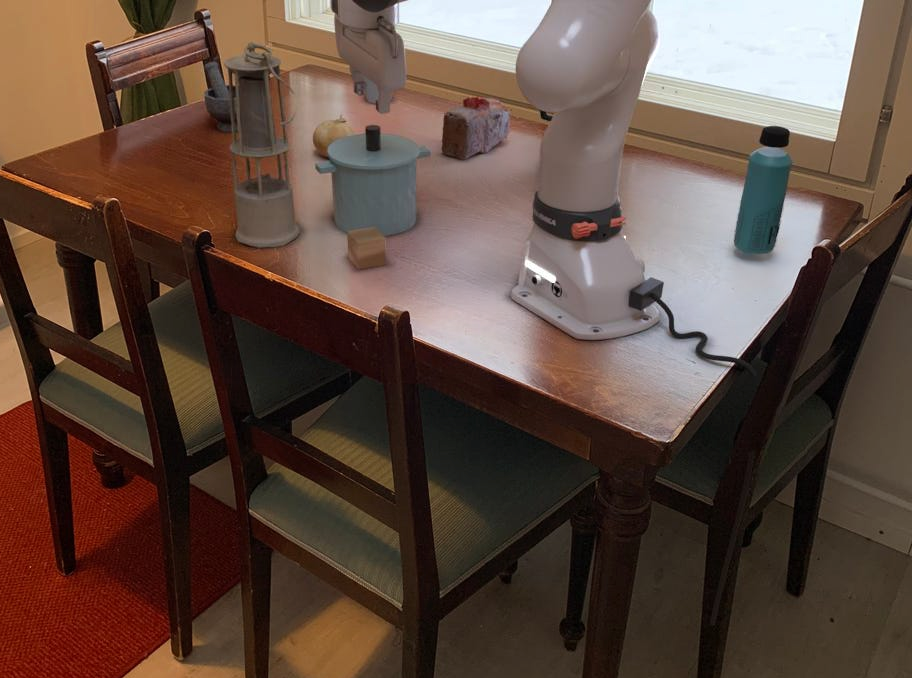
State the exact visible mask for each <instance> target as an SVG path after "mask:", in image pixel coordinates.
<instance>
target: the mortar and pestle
mask: <svg viewBox="0 0 912 678" xmlns="http://www.w3.org/2000/svg"><path fill="white" fill-rule="evenodd" d="M218 66H219V64H218V62H217V61H209V62H207V63H206V64H205V65H203V68H204V70H205V71H206V72H207V75H208V78H209V81H210V84H211V88H208V89H205V90H204V95H203V96H204V97H203V98H204V104H205V106H206V110H207V112H208V114H209V115H210V116H211V118H213V119H214V120H216V128H217V130H220V131H222V132H232V123H231V111H230V91H229V84H226V82H225V80H224V79H223V76H222V73H221V72H220V70H219V67H218ZM233 97H234V114H235V128H236V132H238V125H237V107H236V87H235V84H233ZM239 104H240V97H239ZM240 119H241V109H240ZM241 131H242V124H241Z"/></svg>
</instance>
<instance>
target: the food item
mask: <svg viewBox="0 0 912 678" xmlns="http://www.w3.org/2000/svg"><path fill="white" fill-rule="evenodd" d="M462 102H463V103H462V106H459V107H458V108H454V109H452V110H448V111H446V112H444V113H443V122H442V123H443V125H442V134H441V148H440V149H441V153H442V154H444V155H446V156H450V157H452V158H453V157H454V158H458V159H459V160H461V161H464V160H466V159H468V158H470V157H472V156H474V155H476V154H478V153H481V154H486V153H489V151H491V150H492V148H494V147H496V146H497V145H498V144H502V143H503V141H504V140H505V139H507V138H508V137H509V134H510V127H511V125H510V124H511V122H510V117H511V113H510V111H509V110H508V109H507V108H506V106H505V104H503V102H502V101H500V100H498V99H495V98H493V97H482V98H479V96H477V97H475V96H472V97H469V96H467V98H465V99H462Z"/></svg>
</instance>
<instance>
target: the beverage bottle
mask: <svg viewBox="0 0 912 678" xmlns="http://www.w3.org/2000/svg"><path fill="white" fill-rule="evenodd" d="M790 135H791V131H790V130H789V129H788V128H786V127H783V126H778V125H768V126H765V127H763V128H762V130H761V133H760V136H759V140H758V141H759V145H762V146H763V147H760V148H758V149H756V150H755V151H753V152H752V153H750V155H749V156H748V162H747V167H746V174H745V178H744V184H743V189H742V193H741V195H740V196H741V197H740V198H741V199H740V202H739V208H738V213H737V215H736V217H737V218H736V219H737V220H736V222H735V229H734V233H733V234H734V235H733V245H734V247H735V248H736V249H737V250H739V251H741V252H743V253H747V254H751V255H765V254H769V253H771V252H773V250H774V249H775V247H776V245H777V241H778V236H779V232H780V228H781V223H782V218H783V212H784V207H785V205H784V204H785V200H786V196H787V194H788V193H787V191H788V185H789V179H790V174H791V169H792V165H793V158H792V157H791V155H790V154H789V153H788V152H787V151H786V150H785V149H782V148H787V147H788V146H789V143H790Z"/></svg>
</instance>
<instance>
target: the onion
mask: <svg viewBox="0 0 912 678" xmlns="http://www.w3.org/2000/svg"><path fill="white" fill-rule="evenodd" d="M352 135H356V133H355V131H354V129H353V128H352V127H351V126H350V125H349V124H348V123H347V119H346V118H345V117H343V114H341V115H339V118H338V119H328V120H324V121H322V122H321V123H319V124H318V125H317V127H316V128H315V129H314V131H313V133H312V144H313V147H314V148H315V150H316V151H317V152H318V153H319V154H320V155H321V156H323V157H325V158H328V159H330V158H329V157H328V152H327V149H328V147H329V145H330V144H331V143H333V142H334V141H336V140H338V139H341V138H344V137H347V136H352Z"/></svg>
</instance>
